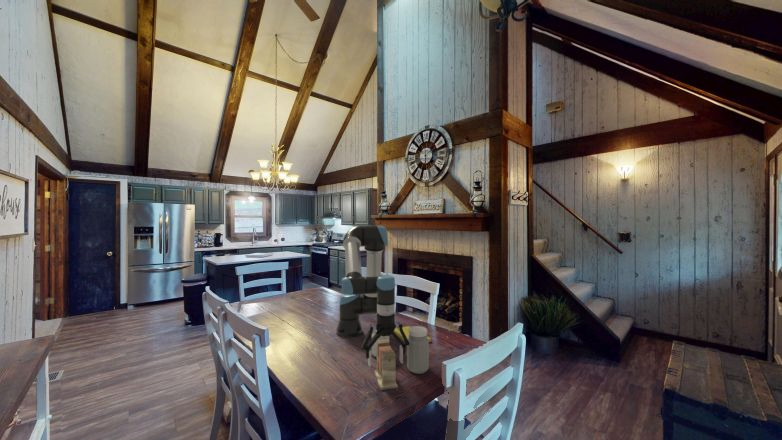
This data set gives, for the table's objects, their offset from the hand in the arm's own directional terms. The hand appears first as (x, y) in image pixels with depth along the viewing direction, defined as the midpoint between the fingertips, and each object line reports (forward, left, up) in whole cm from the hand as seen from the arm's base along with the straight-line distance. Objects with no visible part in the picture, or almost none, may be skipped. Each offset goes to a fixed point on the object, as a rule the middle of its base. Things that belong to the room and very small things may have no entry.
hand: (385, 363), depth 122 cm
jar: (-5, +16, -7) cm, 18 cm away
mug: (-24, +3, -7) cm, 25 cm away
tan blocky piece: (0, 0, -7) cm, 7 cm away
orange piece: (0, 0, -3) cm, 3 cm away
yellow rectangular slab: (-41, +23, -8) cm, 47 cm away
